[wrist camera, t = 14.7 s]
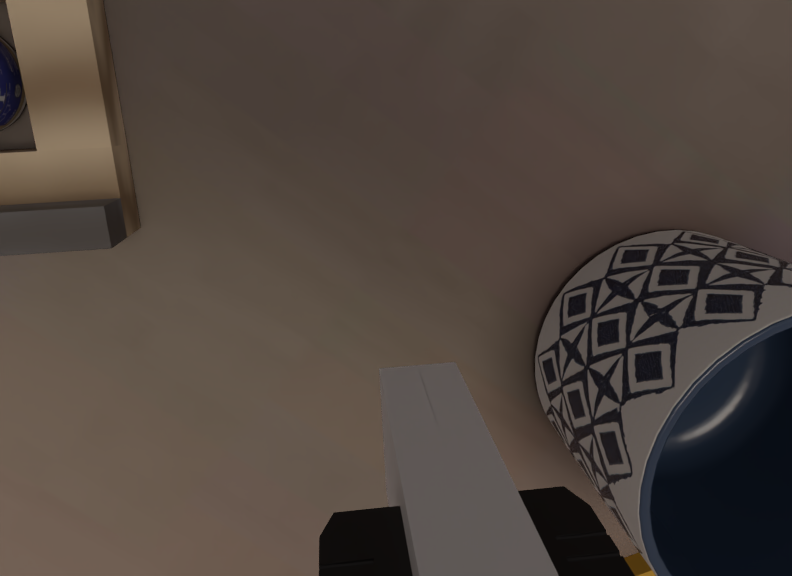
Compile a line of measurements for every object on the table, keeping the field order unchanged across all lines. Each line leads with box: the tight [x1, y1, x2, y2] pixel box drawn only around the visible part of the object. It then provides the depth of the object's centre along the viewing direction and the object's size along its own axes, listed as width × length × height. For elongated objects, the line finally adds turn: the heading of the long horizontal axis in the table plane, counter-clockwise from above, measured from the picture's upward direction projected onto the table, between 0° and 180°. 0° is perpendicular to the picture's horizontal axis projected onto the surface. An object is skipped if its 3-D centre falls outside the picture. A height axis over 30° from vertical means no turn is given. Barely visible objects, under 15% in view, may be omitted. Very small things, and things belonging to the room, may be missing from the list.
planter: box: [535, 230, 792, 576], centre depth 34 cm, size 16×16×14 cm
